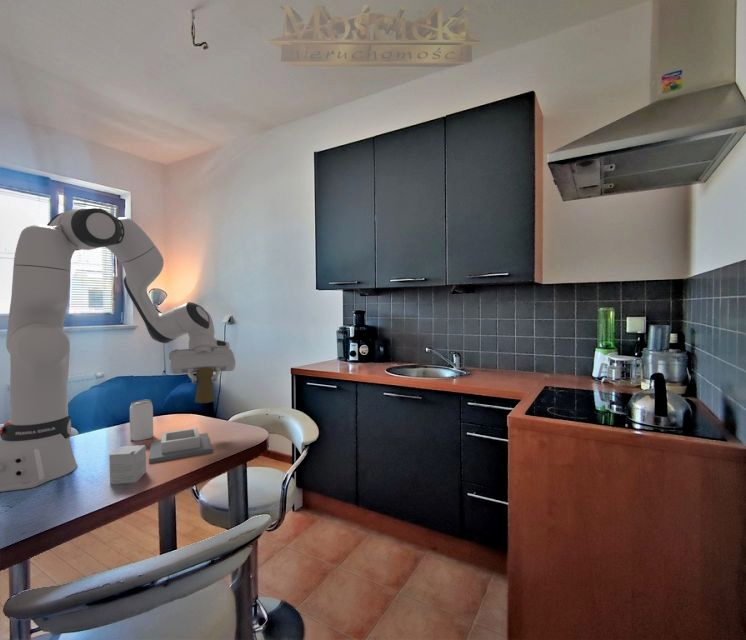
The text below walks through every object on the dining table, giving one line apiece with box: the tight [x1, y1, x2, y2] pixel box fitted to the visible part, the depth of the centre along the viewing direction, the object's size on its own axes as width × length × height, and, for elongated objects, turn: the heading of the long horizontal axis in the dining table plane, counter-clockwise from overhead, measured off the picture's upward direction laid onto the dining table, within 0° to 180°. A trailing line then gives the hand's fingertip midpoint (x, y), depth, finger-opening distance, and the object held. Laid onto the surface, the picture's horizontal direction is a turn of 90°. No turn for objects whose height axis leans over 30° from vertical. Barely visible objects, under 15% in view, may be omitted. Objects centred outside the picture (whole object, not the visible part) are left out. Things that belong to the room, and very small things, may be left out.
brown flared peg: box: [194, 368, 216, 404], centre depth 126 cm, size 6×6×11 cm
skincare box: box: [108, 444, 147, 485], centre depth 95 cm, size 6×6×7 cm
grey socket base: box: [148, 427, 213, 464], centre depth 115 cm, size 16×16×4 cm
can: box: [129, 399, 154, 442], centre depth 124 cm, size 6×6×12 cm
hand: (204, 381), depth 125 cm, fingers closed on brown flared peg, 5 cm apart
